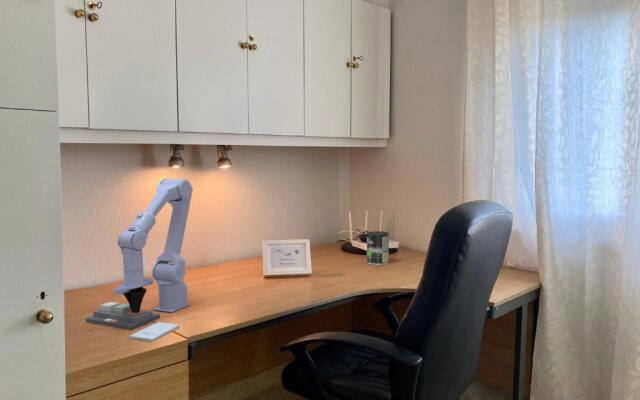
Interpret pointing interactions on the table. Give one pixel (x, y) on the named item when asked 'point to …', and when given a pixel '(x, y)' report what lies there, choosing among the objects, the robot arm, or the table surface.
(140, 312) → the key
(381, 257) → the coffee can
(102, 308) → the key
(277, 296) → the table surface
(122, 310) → the key
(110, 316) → the grey compartment tray
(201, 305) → the table surface
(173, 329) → the external hard drive
